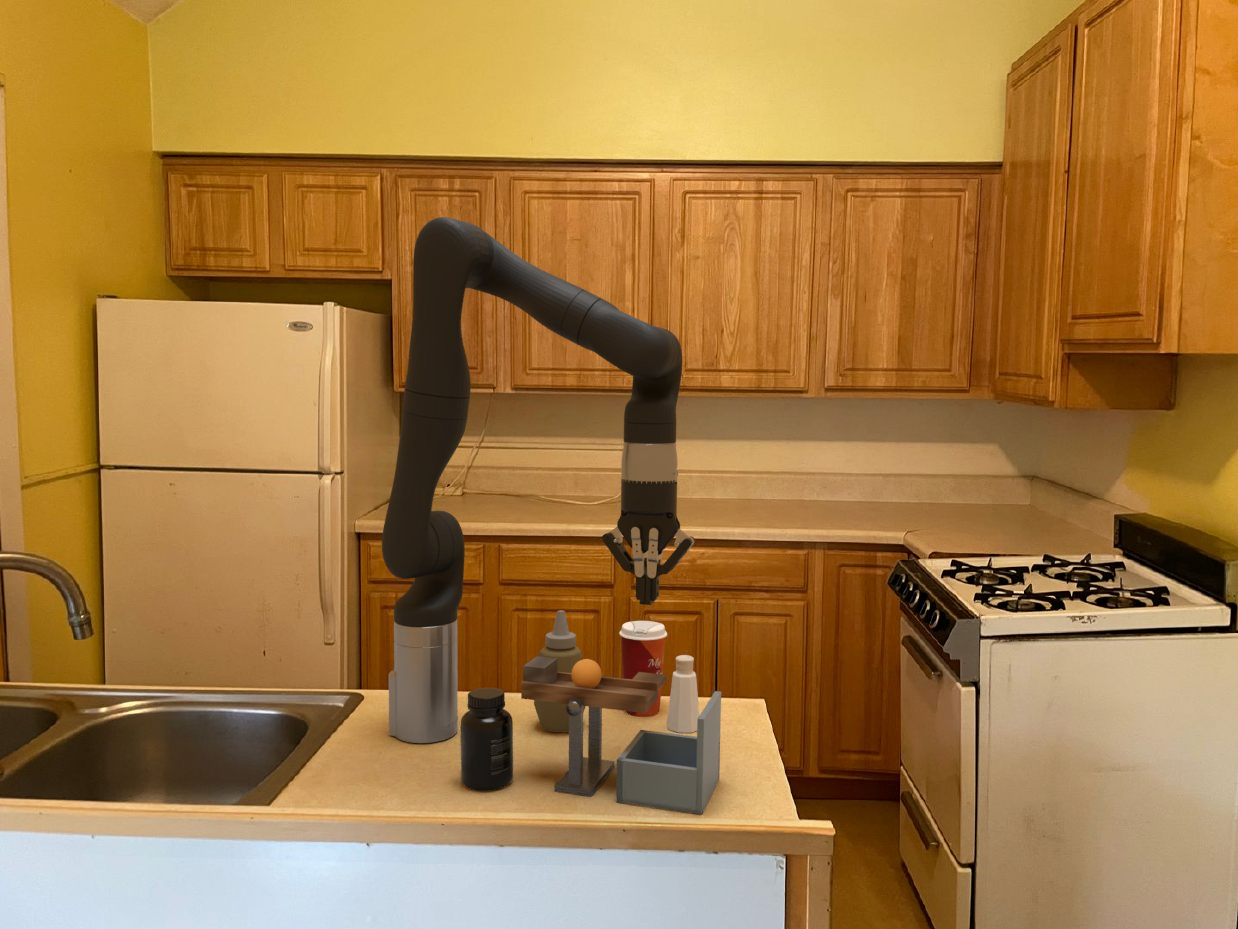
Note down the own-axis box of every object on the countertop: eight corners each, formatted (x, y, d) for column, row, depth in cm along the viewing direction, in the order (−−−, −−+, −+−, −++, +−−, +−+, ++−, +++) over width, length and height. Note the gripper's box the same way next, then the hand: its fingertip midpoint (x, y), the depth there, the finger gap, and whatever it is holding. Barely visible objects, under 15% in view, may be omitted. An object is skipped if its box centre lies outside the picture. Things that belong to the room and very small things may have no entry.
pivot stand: (553, 792, 122) (554, 700, 121) (580, 761, 131) (581, 676, 130) (590, 797, 120) (591, 704, 119) (614, 766, 130) (616, 680, 129)
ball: (566, 692, 123) (567, 662, 123) (577, 683, 127) (577, 654, 127) (595, 695, 122) (596, 665, 122) (605, 686, 126) (605, 657, 126)
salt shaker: (660, 730, 144) (662, 659, 143) (672, 719, 149) (673, 650, 148) (694, 735, 142) (696, 664, 141) (705, 724, 147) (707, 654, 146)
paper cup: (661, 721, 148) (663, 633, 147) (613, 717, 149) (615, 630, 148) (669, 704, 156) (670, 621, 154) (623, 701, 157) (624, 618, 156)
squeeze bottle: (522, 727, 145) (523, 611, 143) (559, 713, 151) (560, 602, 149) (560, 740, 139) (561, 620, 138) (597, 726, 145) (598, 611, 144)
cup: (616, 802, 119) (617, 709, 118) (640, 768, 129) (641, 683, 128) (701, 815, 116) (703, 719, 115) (719, 779, 126) (721, 691, 125)
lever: (521, 698, 124) (521, 667, 124) (555, 671, 136) (555, 642, 136) (645, 713, 119) (646, 680, 119) (669, 683, 131) (670, 654, 131)
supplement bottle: (511, 769, 128) (511, 683, 127) (514, 791, 122) (515, 700, 121) (460, 772, 127) (460, 685, 126) (460, 794, 121) (460, 702, 120)
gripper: (593, 476, 125) (592, 605, 126) (691, 480, 121) (688, 614, 122) (610, 472, 132) (609, 594, 133) (703, 475, 128) (701, 601, 130)
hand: (647, 603), depth 128 cm, fingers closed
